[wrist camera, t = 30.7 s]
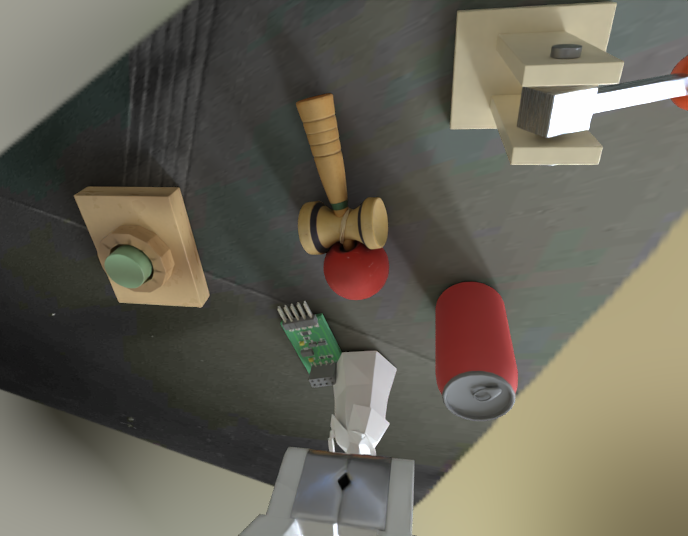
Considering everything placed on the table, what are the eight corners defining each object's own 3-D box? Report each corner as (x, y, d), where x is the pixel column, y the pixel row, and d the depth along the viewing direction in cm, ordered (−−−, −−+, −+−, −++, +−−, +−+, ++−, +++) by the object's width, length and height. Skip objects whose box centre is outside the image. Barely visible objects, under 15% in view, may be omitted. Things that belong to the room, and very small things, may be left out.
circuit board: (264, 321, 47) (308, 313, 46) (273, 301, 50) (314, 293, 48) (308, 393, 53) (347, 388, 52) (313, 372, 56) (351, 367, 54)
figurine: (362, 338, 50) (348, 500, 35) (409, 378, 53) (414, 542, 38) (318, 366, 53) (289, 525, 38) (365, 402, 56) (354, 562, 41)
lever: (707, 40, 28) (772, 46, 25) (687, 100, 30) (744, 112, 27) (516, 70, 24) (566, 81, 21) (507, 136, 26) (552, 155, 23)
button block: (87, 186, 45) (60, 203, 42) (179, 186, 44) (158, 205, 40) (129, 291, 52) (109, 312, 49) (210, 295, 51) (194, 318, 47)
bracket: (611, 1, 30) (705, 21, 20) (584, 122, 34) (648, 192, 24) (456, 10, 32) (466, 33, 21) (449, 124, 36) (455, 190, 26)
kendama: (271, 106, 39) (324, 289, 46) (256, 112, 33) (319, 321, 40) (359, 83, 38) (399, 274, 45) (359, 86, 32) (405, 304, 39)
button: (108, 244, 44) (97, 253, 43) (146, 245, 44) (136, 254, 42) (122, 277, 47) (112, 287, 45) (158, 279, 46) (149, 289, 44)
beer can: (515, 313, 45) (538, 411, 35) (457, 338, 48) (463, 434, 38) (481, 267, 43) (495, 357, 33) (422, 296, 46) (419, 387, 36)
